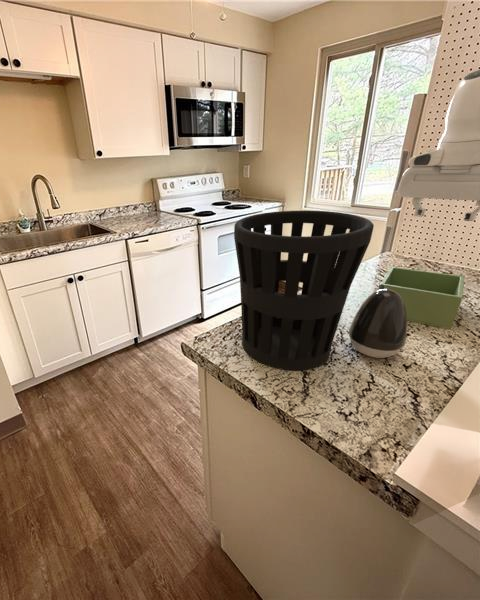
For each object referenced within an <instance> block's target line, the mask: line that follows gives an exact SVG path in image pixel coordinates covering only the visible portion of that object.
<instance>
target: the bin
mask: <svg viewBox="0 0 480 600" xmlns="http://www.w3.org/2000/svg"><path fill="white" fill-rule="evenodd" d="M465 278H466V276H465V275H457V274H449V273H443V272H436V271H435V272H434V271H427V270H420V269H413V268H405V267H398V266H397V267H396V266H390V268H389V269H388V270H387V272H386V274H385V276H384V277H383V279H382V280H381V282H380V283H379V285H381V284H382V285H384V286H385V289H390V290H393V291H395V292H397V293H398V294H399V295H400V296H401V298H402V299H403V302H404V304H405V308H406V315H407V321H409V322H414V323H418V324H422V325H427V326H432V327H436V328H441V329H445V330H451V328H452V326H453V323H454V321H455V318H456V316H457V313H458V310H459V308H460V306H461V303H462V300H463V296H464V287H465Z"/></svg>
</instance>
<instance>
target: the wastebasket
mask: <svg viewBox="0 0 480 600" xmlns="http://www.w3.org/2000/svg"><path fill="white" fill-rule="evenodd" d="M284 224H291V230H290V231H291V232H290V235H283V229H284ZM304 224H312V229H311V234H310V236H309V235H308V236H303V229H304ZM266 226H270V234H269V233H266ZM327 226H332V229H331V231H330V232H331V233H330V235H325V232H326V227H327ZM374 226H375V225H374V223H373V222H372V220H370V219H368V218H366V217H363V216H359V215H355V214H351V213H346V212H339V211H329V210H282V211H281V210H280V211H271V212H264V213H262V212H261V213H257V214H252V215H249V216H244V217H241V218H240V219H238V220H237V221H236V222H235V223H234V226H233V227H234V228H233V229H234V230H233V239H234V247H235V252H236V259H237V265H238V273H239V287H240V307H241V309H240V310H241V328H242V329H241V331H242V333H241V345H242V348H243V350H244V351H245V353H246V354H247V355H248V356H249V357H250V358H251V359H253V360H255V361H256V362H258V363H260V364H262V365H264V366H267V367H270V368H274V369H277V370H283V371H291V372H303V371H309V370H315V369H317V368H320V367H322V366H323V365H324V364H326V363H327V362H328V360H330V359H329V358H330V355H331V350H332V345H333V342H334V338H335V336H336V332H337V329H338V326H339V323H340V321H341V317H342V314H343V311H344V308H345V306H346V305H345V304H346V302H347V301H346V300H347V299H348V295H349V292H350V289H351V287H352V284H353V281H354V279H355V277H356V275H357V273H358V270H359V268H360V265H361V263H362V261H363V258H364V256H365V254H366V252H367V250H368V247H369V245H370V243H371V240H372V236H373V232H374ZM347 230H349V231H348V232H347ZM282 253H285V254H287V259H282ZM305 254H307V256H306V260H304V255H305ZM280 282H285V283H284V284H285V285H284V292H279V288H280V287H279V286H280ZM300 283H301V284H302V285H301V293H300V294H298V292H299V286H300Z"/></svg>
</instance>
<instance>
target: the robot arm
mask: <svg viewBox="0 0 480 600" xmlns="http://www.w3.org/2000/svg"><path fill="white" fill-rule="evenodd" d="M438 142H439V143H438V146H437V148H436V149H431V150H429V151H427V152H424V153H420V154H417V155H414V156H412V157H410V158H409V160H408V166H409V167H408V168H407V169H405V171H404V172H403V174H402V176H401V178H400V181H399V184H398V187H397V191H396V193H397V195H398V197H399V198H411V199H412V201H411V204H412V205H413V208H414V215H413V217H418V218H419V217H420V218H422V217H424V216H425V214H426V213H425V212H426V211H427V208H423V206H422V204H421V202H423V201H424V199H433V200H435V199H436V200H455V201H474V202H475V201H476V202H475V207H476V208H475V209H474V210H473V211H467V212H465V214H464V217H463V222H474V221H475V220H476V219H477V215H478V213H480V69H478V70H475V71H473V72H470V73H468V74H466V75H465V76H464V77H463V78H461V80H460V82H459V83H458V85H457V87H456V89H455V91H454V93H453V95H452V98H451V101H450V104H449V107H448V110H447V114H446V117H445V129H444V133H443V134H442V136H441V138H440V139H439V141H438Z"/></svg>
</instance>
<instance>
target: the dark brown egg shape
mask: <svg viewBox="0 0 480 600" xmlns="http://www.w3.org/2000/svg"><path fill="white" fill-rule="evenodd" d="M380 284H381V283H380ZM380 284H379V285H378V286H377V287H378V289H376V290H375V291H374V292H372V293H371V294H370V295H368V297H367V298H366V299H365V300H364V301H363V302H362V304H361V305H360V307H359V308H358V310H357V311H356V313H355V315H354V317H353V318H352V321H351V323H350V325H349V328H348V336H349V340H350V343H351V345H352V346H353V348H354V349H355V350H356V351H358V352H359V353H360V354H362V355H365V356H367V357H370V358H377V359H385V358H389V357H392V356H394V355H396V354H397V353H399V351H400V350H401V349H402V348H404V347H405V345H406V342H407V335H408V320H407V315H406V308H405V304H404V302H403V299H402V298H401V296H400V295H399V294H398V293H397V292H395V291H393V290H390V289H385V286H384V285H382V284H381V285H380Z"/></svg>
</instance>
